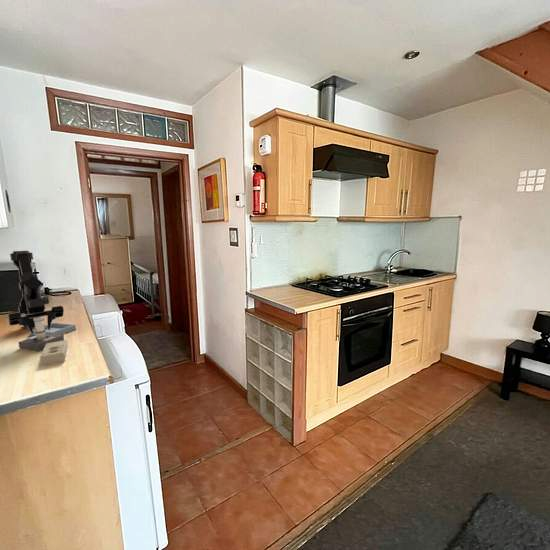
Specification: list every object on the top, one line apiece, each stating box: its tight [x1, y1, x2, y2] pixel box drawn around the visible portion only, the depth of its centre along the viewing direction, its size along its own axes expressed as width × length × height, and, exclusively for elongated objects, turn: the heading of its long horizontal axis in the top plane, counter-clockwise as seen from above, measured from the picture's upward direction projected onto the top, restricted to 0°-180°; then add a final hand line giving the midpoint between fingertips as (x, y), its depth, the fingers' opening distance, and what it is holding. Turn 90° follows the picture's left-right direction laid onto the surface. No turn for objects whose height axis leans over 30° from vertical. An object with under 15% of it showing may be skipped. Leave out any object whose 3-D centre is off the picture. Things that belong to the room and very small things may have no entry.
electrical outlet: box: [39, 339, 69, 367], centre depth 118 cm, size 7×4×18 cm
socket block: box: [18, 333, 65, 352], centre depth 129 cm, size 11×11×3 cm
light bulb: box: [33, 316, 46, 341], centre depth 128 cm, size 4×4×12 cm
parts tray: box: [28, 322, 77, 337], centre depth 145 cm, size 14×12×2 cm
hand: (40, 331), depth 127 cm, fingers open, 5 cm apart
